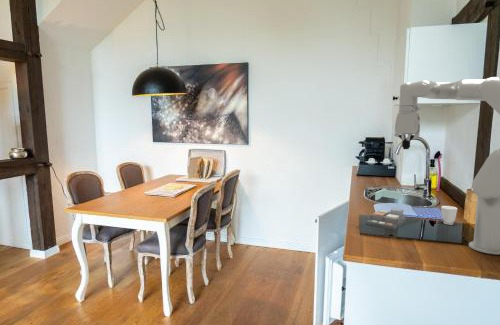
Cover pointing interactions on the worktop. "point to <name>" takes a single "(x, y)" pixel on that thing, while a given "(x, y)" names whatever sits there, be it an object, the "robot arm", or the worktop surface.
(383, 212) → the sage key
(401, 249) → the worktop surface
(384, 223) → the keypad board
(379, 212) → the terracotta key
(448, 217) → the cup
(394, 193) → the l-shaped corner panel
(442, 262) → the worktop surface
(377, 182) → the worktop surface
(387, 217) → the ivory key
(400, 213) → the slate key
